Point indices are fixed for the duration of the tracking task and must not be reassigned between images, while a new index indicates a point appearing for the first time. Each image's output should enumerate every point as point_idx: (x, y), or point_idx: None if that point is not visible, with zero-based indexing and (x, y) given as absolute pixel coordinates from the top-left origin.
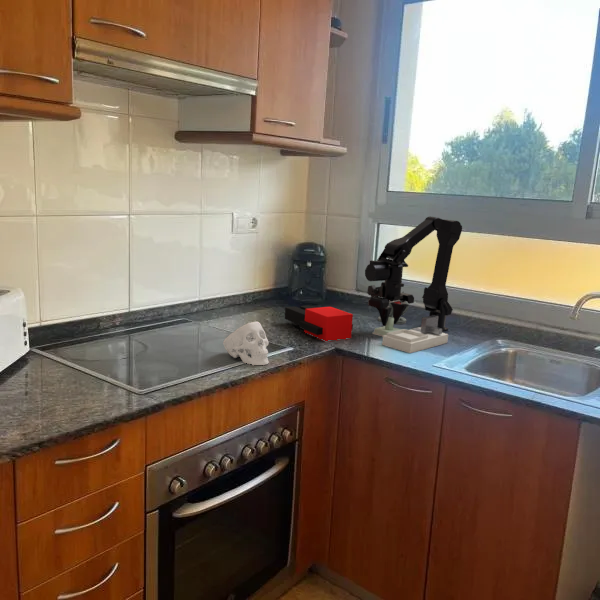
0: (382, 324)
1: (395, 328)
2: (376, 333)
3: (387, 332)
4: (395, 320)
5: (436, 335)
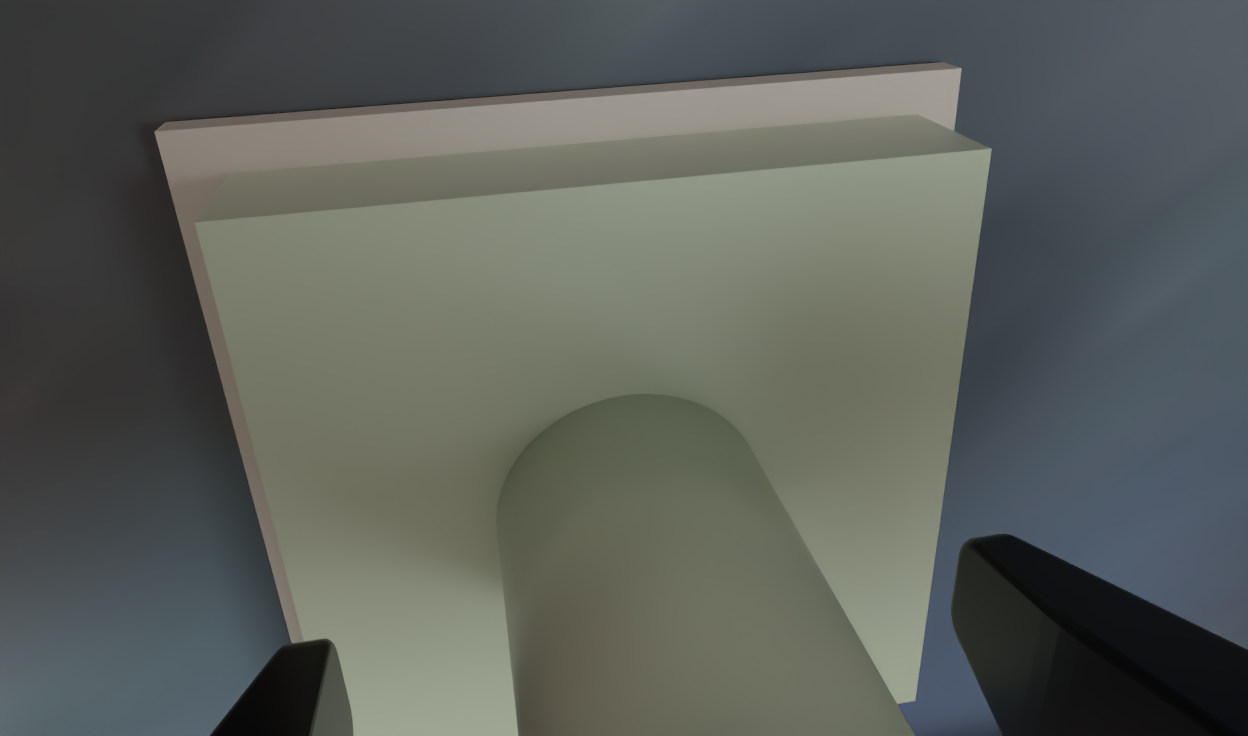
0: (258, 680)
1: (890, 521)
2: None
3: None
4: (1022, 702)
5: None
